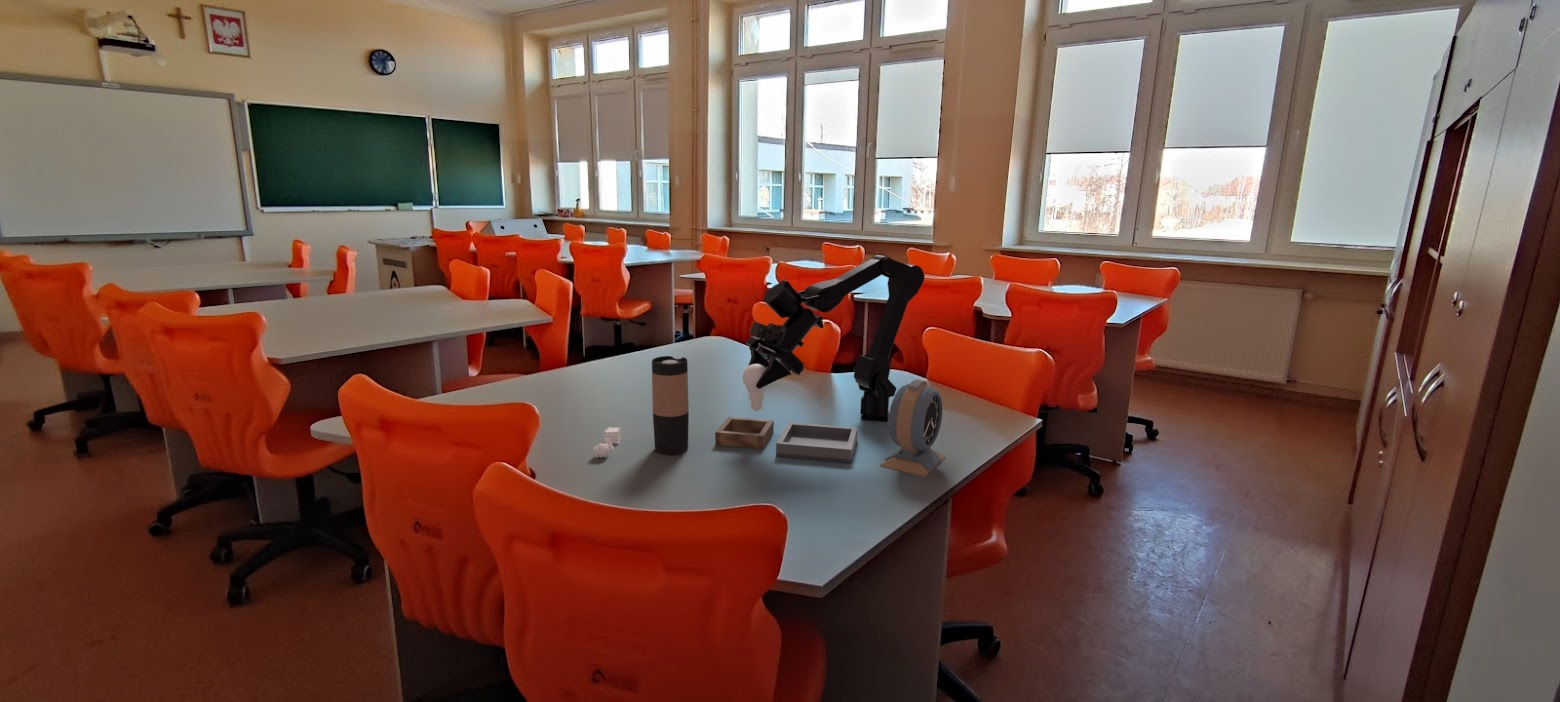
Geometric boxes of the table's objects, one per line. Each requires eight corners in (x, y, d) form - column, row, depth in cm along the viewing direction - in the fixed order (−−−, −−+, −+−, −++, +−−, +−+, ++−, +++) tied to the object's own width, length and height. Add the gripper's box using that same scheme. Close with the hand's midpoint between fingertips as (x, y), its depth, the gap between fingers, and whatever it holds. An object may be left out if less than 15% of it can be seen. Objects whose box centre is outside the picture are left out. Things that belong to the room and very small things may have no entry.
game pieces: (607, 440, 158) (607, 427, 157) (622, 441, 158) (621, 427, 157) (592, 460, 146) (591, 446, 145) (607, 461, 146) (607, 446, 145)
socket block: (773, 432, 164) (773, 420, 163) (763, 449, 153) (763, 436, 153) (728, 428, 166) (728, 416, 165) (715, 445, 155) (715, 432, 155)
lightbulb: (773, 408, 161) (773, 361, 159) (764, 416, 156) (764, 368, 153) (749, 405, 163) (748, 359, 161) (739, 413, 158) (738, 366, 155)
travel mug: (660, 457, 148) (657, 365, 143) (649, 446, 154) (646, 357, 150) (694, 452, 151) (693, 362, 146) (682, 440, 158) (680, 354, 153)
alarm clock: (922, 478, 139) (928, 393, 135) (877, 467, 144) (881, 385, 140) (946, 456, 151) (952, 377, 147) (904, 446, 156) (908, 370, 152)
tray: (857, 440, 160) (857, 427, 159) (851, 463, 146) (851, 449, 146) (788, 434, 163) (788, 422, 162) (775, 456, 149) (776, 443, 149)
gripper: (752, 302, 164) (710, 353, 161) (791, 315, 148) (745, 372, 145) (782, 331, 169) (742, 381, 167) (823, 347, 153) (779, 403, 151)
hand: (750, 383), depth 157 cm, fingers closed on lightbulb, 6 cm apart
